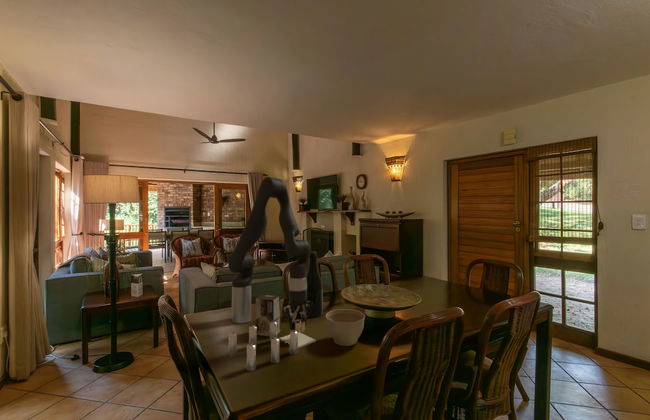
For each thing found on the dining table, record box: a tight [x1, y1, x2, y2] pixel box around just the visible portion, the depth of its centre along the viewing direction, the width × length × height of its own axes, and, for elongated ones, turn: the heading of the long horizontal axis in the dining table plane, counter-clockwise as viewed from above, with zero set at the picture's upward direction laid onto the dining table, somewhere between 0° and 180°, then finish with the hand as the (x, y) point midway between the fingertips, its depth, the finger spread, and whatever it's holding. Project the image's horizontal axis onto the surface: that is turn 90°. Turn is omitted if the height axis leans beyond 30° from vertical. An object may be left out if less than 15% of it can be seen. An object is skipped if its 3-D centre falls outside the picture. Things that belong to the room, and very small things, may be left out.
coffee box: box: [255, 294, 281, 337], centre depth 136 cm, size 9×6×16 cm
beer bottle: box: [305, 251, 324, 318], centre depth 161 cm, size 10×10×33 cm
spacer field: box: [228, 321, 299, 372], centre depth 116 cm, size 19×21×8 cm
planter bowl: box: [325, 308, 366, 347], centre depth 127 cm, size 16×16×11 cm
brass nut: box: [290, 319, 306, 333], centre depth 128 cm, size 6×5×4 cm
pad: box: [279, 332, 317, 349], centre depth 128 cm, size 12×10×1 cm
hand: (298, 328), depth 128 cm, fingers closed on brass nut, 5 cm apart
